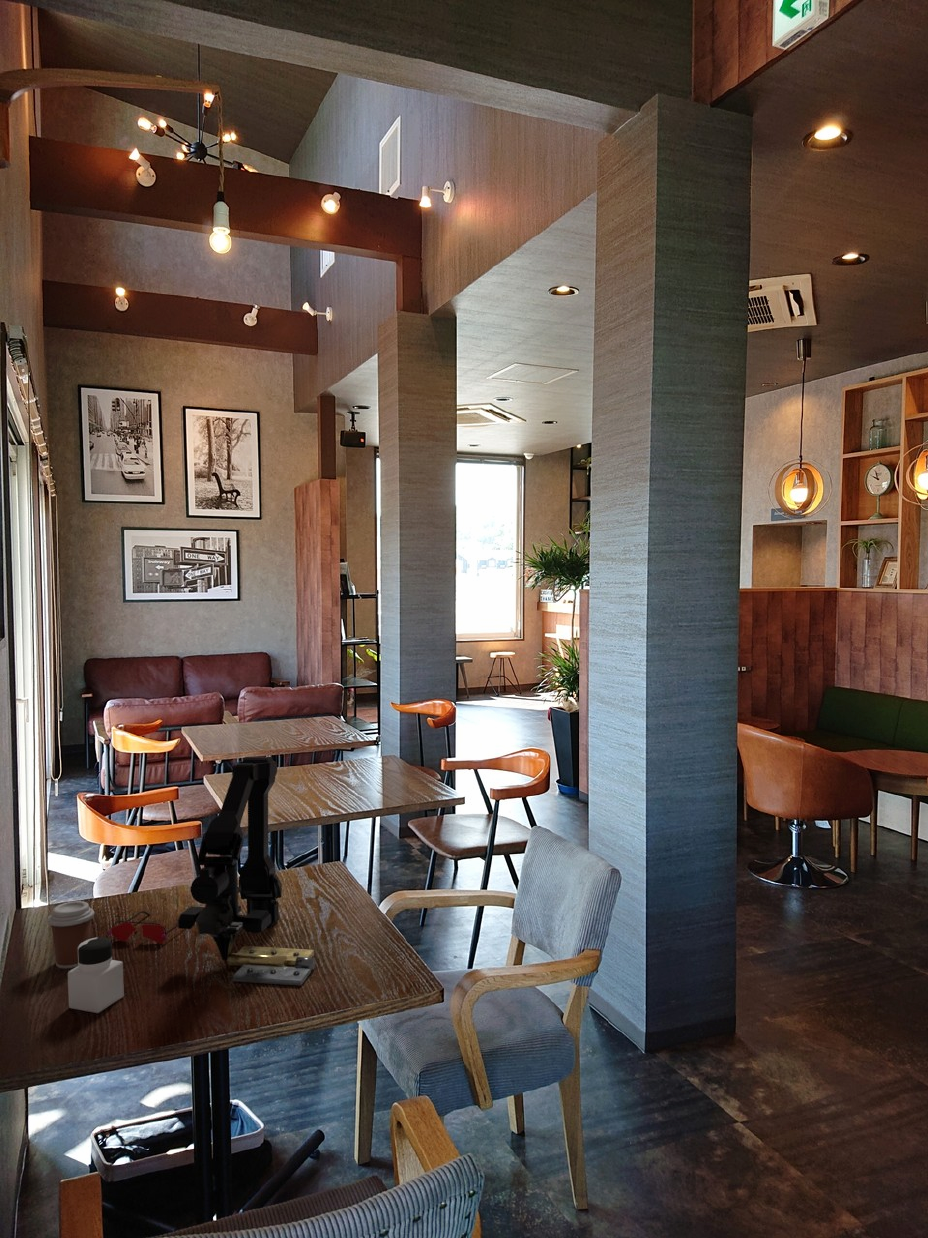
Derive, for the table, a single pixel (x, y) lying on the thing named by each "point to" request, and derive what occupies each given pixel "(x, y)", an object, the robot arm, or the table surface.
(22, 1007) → the table surface
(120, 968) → the medicine bottle
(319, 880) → the table surface
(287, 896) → the table surface
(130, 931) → the glasses
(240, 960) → the brass leaf
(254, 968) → the steel leaf
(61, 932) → the coffee cup
